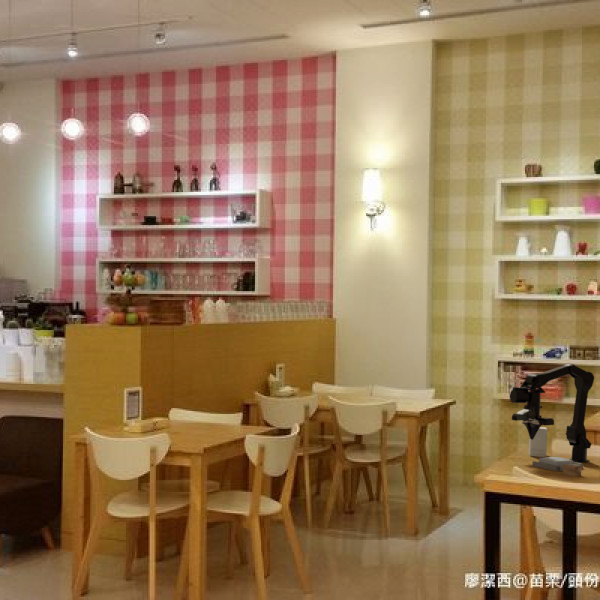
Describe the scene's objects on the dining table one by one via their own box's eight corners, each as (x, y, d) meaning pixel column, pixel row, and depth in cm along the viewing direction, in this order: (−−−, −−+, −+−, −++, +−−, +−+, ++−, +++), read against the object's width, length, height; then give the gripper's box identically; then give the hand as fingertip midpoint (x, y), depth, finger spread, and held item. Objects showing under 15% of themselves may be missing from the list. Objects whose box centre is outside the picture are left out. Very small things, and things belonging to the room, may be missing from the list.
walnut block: (570, 473, 368) (570, 463, 368) (581, 475, 364) (581, 465, 364) (562, 474, 365) (563, 464, 365) (573, 476, 361) (573, 466, 361)
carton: (555, 466, 386) (555, 456, 386) (572, 469, 378) (572, 460, 378) (539, 467, 381) (539, 458, 381) (555, 471, 373) (556, 461, 373)
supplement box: (546, 457, 406) (547, 429, 406) (529, 456, 407) (530, 428, 407) (545, 454, 413) (546, 427, 413) (528, 453, 415) (529, 425, 415)
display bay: (557, 463, 391) (557, 458, 391) (582, 468, 380) (583, 463, 380) (532, 466, 381) (532, 461, 381) (558, 471, 370) (558, 466, 370)
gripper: (504, 401, 394) (502, 437, 394) (538, 406, 380) (537, 443, 379) (520, 400, 401) (519, 435, 401) (555, 405, 386) (554, 442, 386)
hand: (531, 439), depth 392 cm, fingers closed
